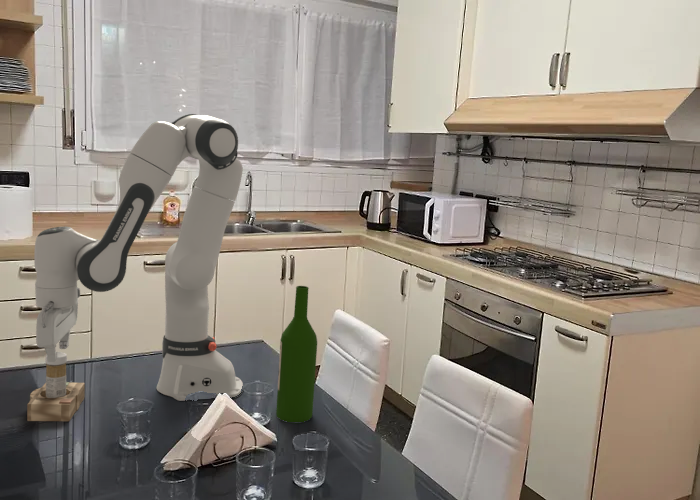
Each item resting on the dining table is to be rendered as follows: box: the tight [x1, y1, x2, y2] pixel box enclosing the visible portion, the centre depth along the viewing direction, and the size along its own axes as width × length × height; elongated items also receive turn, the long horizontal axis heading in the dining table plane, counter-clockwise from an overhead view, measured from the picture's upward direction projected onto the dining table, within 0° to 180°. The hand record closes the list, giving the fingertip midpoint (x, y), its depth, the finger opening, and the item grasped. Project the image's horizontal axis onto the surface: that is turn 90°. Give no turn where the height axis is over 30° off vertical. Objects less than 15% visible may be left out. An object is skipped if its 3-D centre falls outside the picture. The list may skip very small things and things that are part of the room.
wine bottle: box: [275, 285, 318, 423], centre depth 158 cm, size 9×9×32 cm
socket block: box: [26, 381, 86, 422], centre depth 154 cm, size 10×14×4 cm
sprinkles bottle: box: [45, 351, 68, 398], centre depth 154 cm, size 5×5×14 cm
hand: (58, 354), depth 153 cm, fingers open, 8 cm apart
